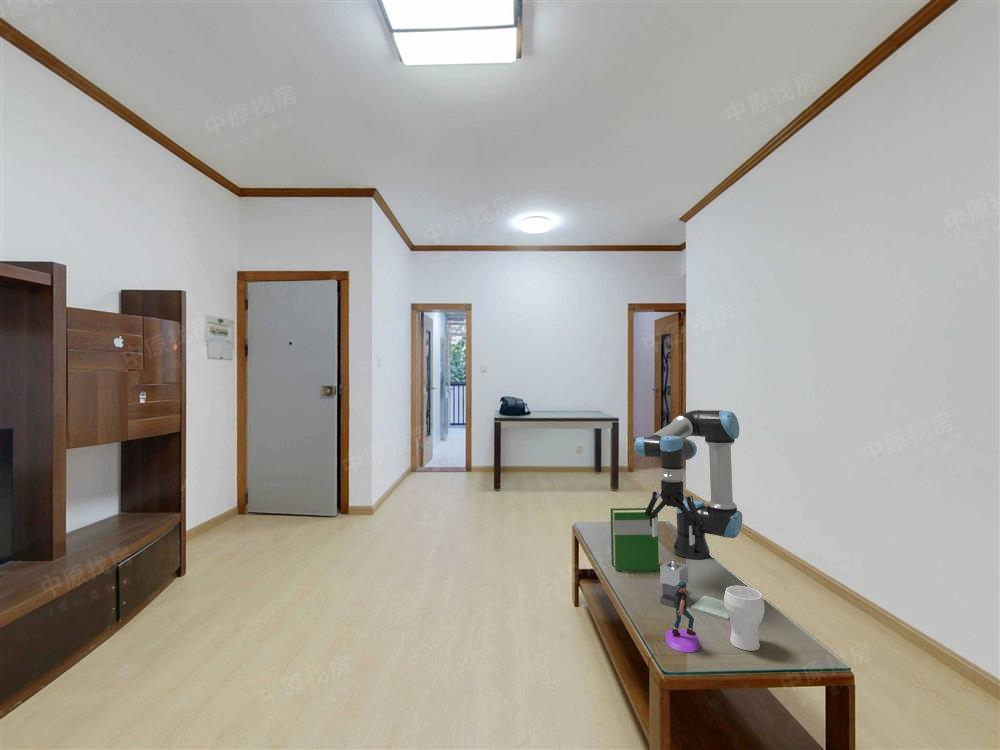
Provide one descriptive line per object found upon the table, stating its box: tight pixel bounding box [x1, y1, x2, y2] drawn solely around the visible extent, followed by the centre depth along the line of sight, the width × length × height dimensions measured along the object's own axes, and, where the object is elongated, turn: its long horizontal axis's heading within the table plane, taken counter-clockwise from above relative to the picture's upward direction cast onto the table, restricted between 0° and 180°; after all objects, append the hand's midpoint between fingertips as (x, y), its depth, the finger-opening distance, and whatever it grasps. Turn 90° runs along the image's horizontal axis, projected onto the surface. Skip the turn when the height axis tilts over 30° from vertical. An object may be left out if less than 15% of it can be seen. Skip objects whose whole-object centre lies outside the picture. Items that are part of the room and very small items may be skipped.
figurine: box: [665, 582, 700, 653], centre depth 142 cm, size 9×9×18 cm
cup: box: [723, 585, 765, 652], centre depth 142 cm, size 11×11×15 cm
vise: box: [659, 559, 689, 608], centre depth 172 cm, size 16×5×14 cm, turn 137°
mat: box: [690, 594, 730, 621], centre depth 164 cm, size 12×12×1 cm
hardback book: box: [610, 507, 660, 572], centre depth 201 cm, size 18×7×24 cm, turn 90°
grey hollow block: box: [659, 560, 689, 587], centre depth 171 cm, size 7×7×6 cm
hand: (673, 540), depth 171 cm, fingers open, 13 cm apart
